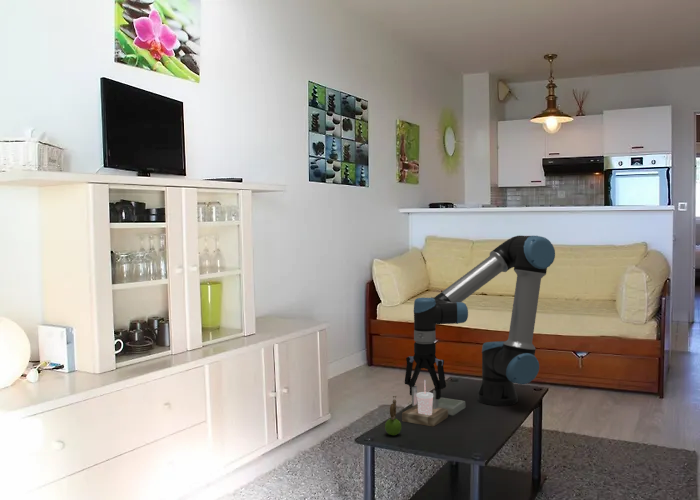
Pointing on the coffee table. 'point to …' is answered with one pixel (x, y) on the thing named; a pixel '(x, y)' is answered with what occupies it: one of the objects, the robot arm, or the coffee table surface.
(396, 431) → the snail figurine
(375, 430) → the coffee table surface
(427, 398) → the beverage cup
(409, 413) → the socket holder
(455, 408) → the tray
